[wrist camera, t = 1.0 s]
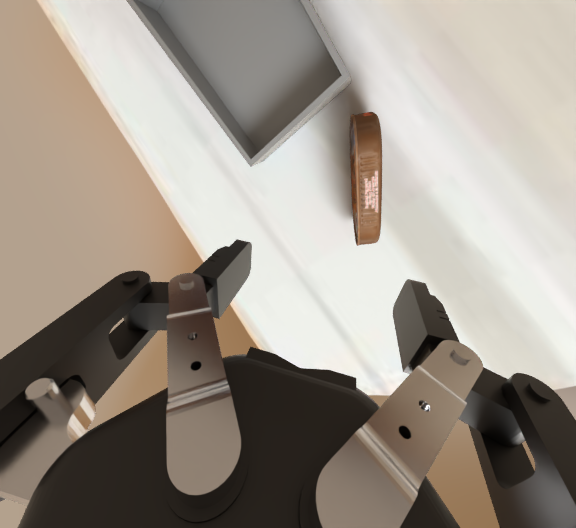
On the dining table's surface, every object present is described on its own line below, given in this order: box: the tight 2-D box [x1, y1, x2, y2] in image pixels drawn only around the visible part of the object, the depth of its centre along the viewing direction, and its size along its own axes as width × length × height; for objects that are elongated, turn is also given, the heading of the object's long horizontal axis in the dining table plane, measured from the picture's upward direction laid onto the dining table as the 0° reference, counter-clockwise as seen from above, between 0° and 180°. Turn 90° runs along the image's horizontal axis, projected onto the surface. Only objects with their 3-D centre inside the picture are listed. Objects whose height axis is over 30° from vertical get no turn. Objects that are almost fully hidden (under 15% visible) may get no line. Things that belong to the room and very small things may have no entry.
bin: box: [126, 0, 351, 166], centre depth 26 cm, size 14×20×5 cm
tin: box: [350, 112, 382, 246], centre depth 29 cm, size 15×3×8 cm, turn 10°
